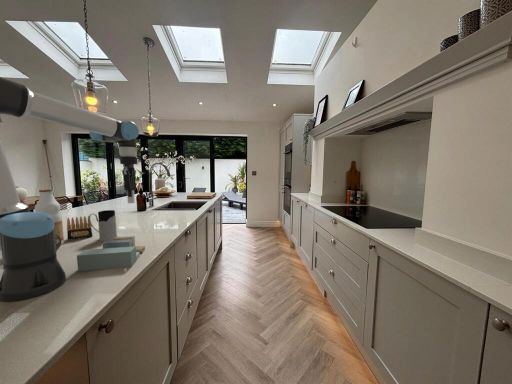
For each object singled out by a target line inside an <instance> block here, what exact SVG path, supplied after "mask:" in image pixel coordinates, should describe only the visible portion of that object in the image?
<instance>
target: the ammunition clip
mask: <svg viewBox="0 0 512 384" xmlns="http://www.w3.org/2000/svg"><path fill="white" fill-rule="evenodd" d="M66 231H67V232H66V233H67V241H72V240H79V239H78V238H80V239H86V238H92V237H93V236H94V235H93V227H92V226H91V224H90V222H89V215H87V217H86V216H84V217H83V218H82V216H80V217H79V218H78V216H76V217H75V219H74V217H71V221H70V218H69V217H67V219H66ZM71 239H72V240H71Z"/></svg>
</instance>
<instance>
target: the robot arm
mask: <svg viewBox="0 0 512 384" xmlns="http://www.w3.org/2000/svg"><path fill="white" fill-rule="evenodd" d="M0 115H7V116H12V117H17V118H23V117H32V118H35V119H39V120H43V121H46V122H52V123H55V124H58V125H61V126H62V125H63V126H66V127H70V128H75V129H78V130H83V131H87V132H89V133H88V134H89V137H90V138H91V139H92V140H93V141H97V142H101V143H102V142H104V143H115V144H118V152H119V153H118V155H119V156H120V157H119V163H120V165H123V169H122V170H121V173H122V176H123V183H124V190H125V192H127V193H126V194H127V204H135V203H136V201H135V191H136V190H137V189H136V178H137V177H136V175H137V170H136V169H135V165H138V157H137V155H138V153H137V152H138V151H139V150H138V148H137V138H138V137H139V134H140V130H139V127H138V126H137V124H136V123H135V122H133V121H132V120H131V121H130V120H124V121H122V120H119V119H115V118H112V117H109V116H107V115H104V114H100V113H97V112H94V111H92V110H89V109H85V108H83V107H80V106H77V105H74V104H71V103H68V102H64V101H61V100H59V99H55V98H52V97H50V96H46V95H44V94H41V93H37V92H34V91H32V90H31V89H29V88H28V86H26V85H24V84H22V83H19V82H16V81H12V80H10V79H7V78H5V77H1V76H0ZM3 125H4V124H3V120H2V117H1V116H0V128H1V127H2V126H3ZM3 146H4V145H3V142H2V140H1V138H0V251H1V259H2V264H3V265H2V266H3V267H2V268H3V272H2V275H1V277H0V301H2V302H17V301H21V300H22V301H24V300H27V299H31V298H36V297H38V296H41V295H44V294H47V293H50V292H51V291H54V290H55V289H57V288H59V287H61V286H62V285H64V284H65V282H66V281H67V277H66V271H64V269H63V267H62V265H61V264H60V262H59V260H58V257H57V250H56V243H55V232H54V226H55V225H54V222H53V218H52V216H51V215H49V214H47V213H42V212H37V213H36V211H31V210H30V208H29V205H27V204H25V203H23V202H21V200H20V197H19V193H18V191H17V187H16V184H15V180H14V178H13V174H12V172H11V168H10V165H9V162H8V158H7V156H6V153H5V150H4V147H3Z"/></svg>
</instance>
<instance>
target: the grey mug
mask: <svg viewBox="0 0 512 384" xmlns="http://www.w3.org/2000/svg"><path fill="white" fill-rule="evenodd" d="M92 215H93V216H95V219H96V222H97V223H98V229H97V228H95V226H94V225H93V223H92V221H91V220H92V219H91V216H92ZM88 216H89V222H90V224H91V227H92V229H94V230H95V231H96V232H98V235H99V238H98V241H99V242H105V241H107V240H113V239H114V238H115V237H119V236H118V233H117V231H118V230H117V220H116V219H117V218H116V217H117V216H116V210H114V209H110V210H109V209H108V210H99V211H98V212H97V214H96V213H90V214H89V215H88Z"/></svg>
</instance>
